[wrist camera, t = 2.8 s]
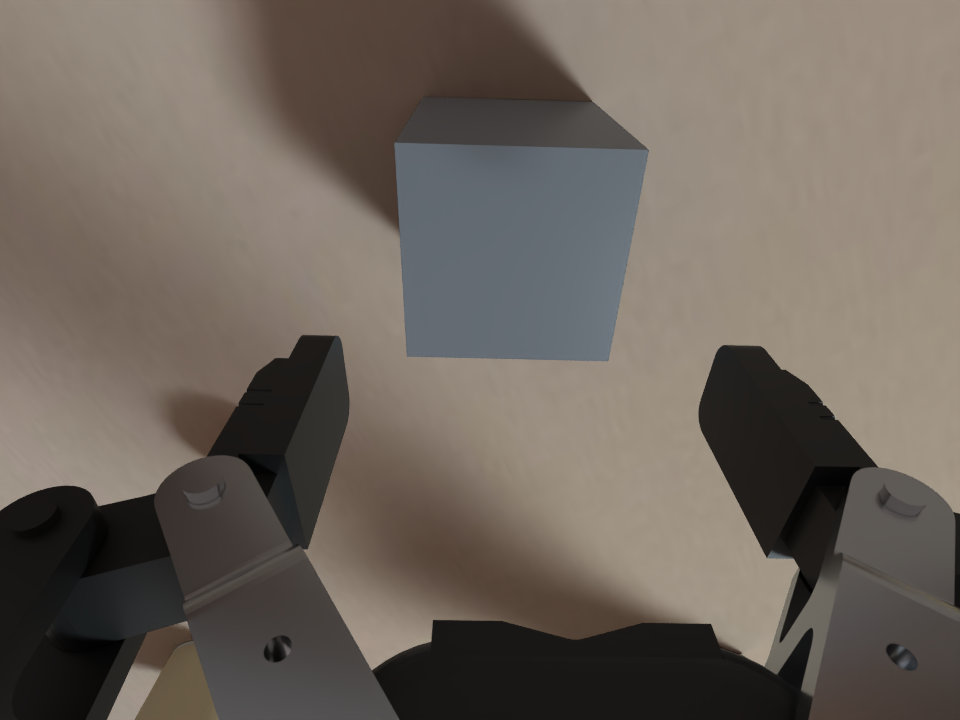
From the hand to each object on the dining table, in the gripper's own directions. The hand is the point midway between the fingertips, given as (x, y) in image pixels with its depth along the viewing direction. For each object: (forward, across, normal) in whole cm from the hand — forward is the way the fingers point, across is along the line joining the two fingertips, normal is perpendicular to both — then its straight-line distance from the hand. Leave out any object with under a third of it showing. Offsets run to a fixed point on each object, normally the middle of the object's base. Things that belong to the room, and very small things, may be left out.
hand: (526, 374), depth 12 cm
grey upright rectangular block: (+15, 0, 0) cm, 15 cm away
